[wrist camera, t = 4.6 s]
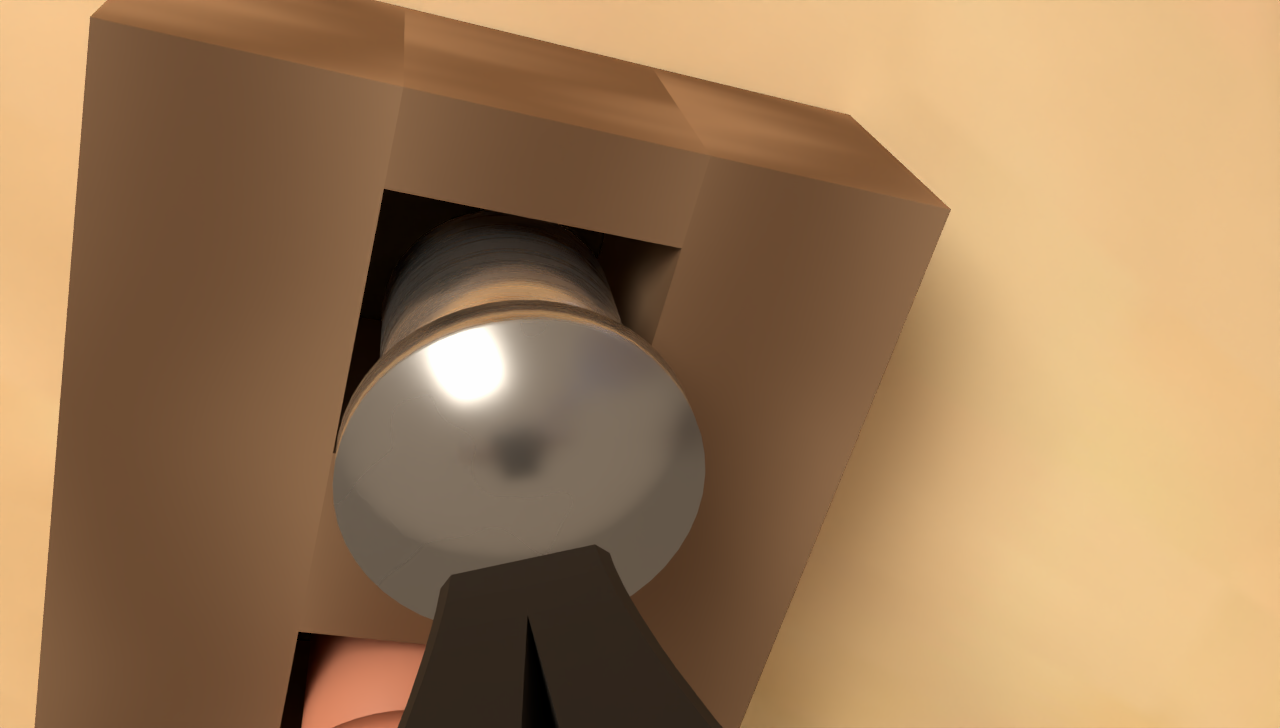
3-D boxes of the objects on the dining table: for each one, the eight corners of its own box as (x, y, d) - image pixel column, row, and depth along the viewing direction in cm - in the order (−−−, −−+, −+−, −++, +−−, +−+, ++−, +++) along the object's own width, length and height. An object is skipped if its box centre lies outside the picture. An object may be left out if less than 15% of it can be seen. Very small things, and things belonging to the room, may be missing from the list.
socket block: (849, 115, 19) (950, 209, 15) (554, 942, 27) (576, 1128, 23) (159, -51, 16) (89, 17, 12) (62, 924, 24) (3, 1131, 20)
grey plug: (675, 212, 16) (751, 358, 12) (600, 459, 17) (648, 649, 14) (378, 150, 15) (368, 289, 11) (328, 418, 16) (305, 614, 13)
